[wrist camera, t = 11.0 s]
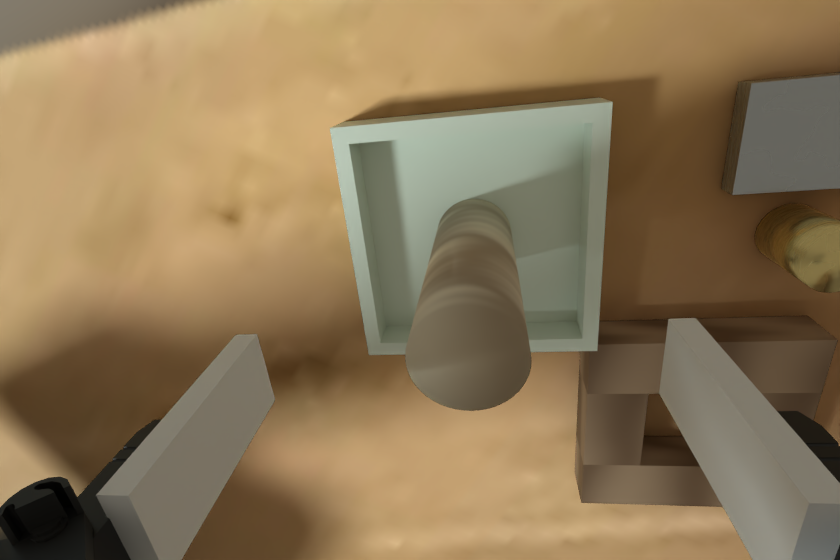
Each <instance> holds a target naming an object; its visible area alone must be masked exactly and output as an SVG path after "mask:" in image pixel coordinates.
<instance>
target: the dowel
mask: <svg viewBox="0 0 840 560" xmlns="http://www.w3.org/2000/svg"><path fill="white" fill-rule="evenodd" d="M405 362H406V366H407V370H408V373H409V375H410V377H411V379H412V381H413V382H414V384H415V385H416V386H417V387H418V389H419V390H420V391H421V392H422V393H424V394H425V395H426V396H427V397H429V398H430V399H432V400H433V401H435V402H437V403H439V404H441V405H444V406H446V407H449V408H453V409H458V410H468V411H474V410H483V409H488V408H492V407H495V406H497V405H500V404H502V403H504V402H506V401H508V400H509V399H510V398H512V397H513V396H514V395H515V394H516V393H517V392H519V390H520V389H521V388H522V387H523V385H524V384H525V382H526V380H527V378H528V376H529V373H530V369H531V351H530V344H529V338H528V332H527V326H526V320H525V313H524V307H523V301H522V295H521V289H520V282H519V276H518V270H517V264H516V257H515V251H514V245H513V239H512V233H511V227H510V223H509V221H508V218H507V217H506V215H505V214H504V212H503V211H502V210H501V209H500V208H499V207H497V206H496V205H495V204H493V203H491V202H488V201H486V200H482V199H467V200H463V201H460V202H458V203H456V204H454V205H453V206H451V207H450V208H449V209H448V210H447V211H446V212H445V213H444V215H443V216H442V218H441V220H440V222H439V225H438V229H437V233H436V237H435V240H434V244H433V248H432V252H431V255H430V259H429V263H428V267H427V270H426V274H425V278H424V282H423V285H422V289H421V293H420V297H419V300H418V304H417V308H416V312H415V315H414V319H413V323H412V327H411V330H410V334H409V338H408V342H407V346H406V351H405Z"/></svg>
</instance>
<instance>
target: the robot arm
mask: <svg viewBox="0 0 840 560" xmlns="http://www.w3.org/2000/svg"><path fill="white" fill-rule="evenodd" d="M659 394H660V396H661V398H662V400H663V401H664V403H665V405H666V407H667V408H668V410H669V412H670V414H671V415H672V417H673V419H674V421H675V423H676V424H677V426H678V428H679V430H680V431H681V433H682V435H683V437H684V439H685V440H686V442H687V444H688V446H689V447H690V449H691V451H692V453H693V455H694V456H695V458H696V460H697V462H698V463H699V465H700V467H701V469H702V471H703V472H704V474H705V476H706V478H707V479H708V481H709V483H710V485H711V487H712V488H713V490H714V492H715V494H716V495H717V497H718V499H719V501H720V503H721V504H722V506H723V508H724V510H725V511H726V513H727V515H728V517H729V518H730V520H731V522H732V524H733V526H734V527H735V529H736V531H737V533H738V534H739V536H740V538H741V540H742V542H743V543H744V545H745V547H746V549H747V550H748V552H749V554H750V556H751V558H752V559H753V560H840V446H838V442H837V441H836V440H835V439H834V438H833V437H832V436H831V435H830V434H829V433H828V432H827V431H826V430H825V429H824V428H823V427H822V426H821V425H820V424H818V423H816V422H815V421H813V420H812V419H810V418H808V417H807V416H805V415H804V414H802V413H800V412H799V411H776V410H775V408H774V407H773V406H772V405H771V404H770V403H769V402H768V400H767V399H766V398H765V397H764V396H763V395H762V393H761V392H760V391H759V390H758V389H757V388H756V387H755V385H754V384H753V383H752V382H751V381H750V380H749V379H748V377H747V376H746V375H745V374H744V373H743V372H742V371H741V369H740V368H739V367H738V366H737V365H736V364H735V363H734V361H733V360H732V359H731V358H730V357H729V356H728V355H727V353H726V352H725V351H724V350H723V349H722V348H721V347H720V345H719V344H718V343H717V342H716V341H715V340H714V338H713V337H712V336H711V335H710V334H709V333H708V332H707V330H706V329H705V328H704V327H703V326H702V325H701V324H700V322H699V321H698V320H697V319H696V318H679V319H668V326H667V334H666V342H665V350H664V358H663V366H662V374H661V382H660V389H659ZM274 401H275V397H274V394H273V390H272V387H271V383H270V379H269V376H268V372H267V368H266V365H265V361H264V357H263V354H262V350H261V347H260V343H259V339H258V336H257V334H243V335H235V336H234V337H233V339H232V340H231V341H230V342H229V343H228V344H227V345H226V347H225V348H224V349H223V350H222V351H221V352H220V353H219V355H218V356H217V357H216V358H215V359H214V360H213V361H212V363H211V364H210V365H209V366H208V367H207V368H206V369H205V371H204V372H203V373H202V374H201V375H200V376H199V378H198V379H197V380H196V381H195V382H194V383H193V384H192V386H191V387H190V388H189V389H188V390H187V391H186V392H185V394H184V395H183V396H182V397H181V398H180V399H179V400H178V402H177V403H176V404H175V405H174V406H173V407H172V409H171V410H170V411H169V412H168V413H167V414H166V415H165V417H164V418H163V419H162V420H154V421H152V422H151V423H149V424H148V425H147V426H145V427H144V428H142V429H141V430H139V431H138V432H137V433H136V434H135V435H134V436H133V437H132V438H131V439H130V440H129V441H128V442H127V444H126V445H125V446H124V448H123V450H120V451H119V452H118V453H117V455H116V456H115V457H114V458H113V461H112V462H109V463H108V464H107V466H106V467H105V468H104V469H103V470H102V471H101V472H100V473H99V474H98V475H97V477H96V478H95V479H94V480H93V481H92V482H91V483H90V484H89V485H88V486H87V488H86V489H85V490H84V491H83V492H82V493H81V494H80V495H79V496H78V497H77V496H76V495H75V493H74V491H73V489H72V487H71V485H70V483H69V482H68V480H67V479H65V478H62V477H53V478H47V479H44V480H41V481H38V482H35V483H33V484H31V485H29V486H27V487H25V488H23V489H21V490H20V491H19V492H17V493H16V494H14V495H13V496H12V497H10V498H9V499H8V500H7V501H6V502H5V503H4V504H3V505H2V506H1V507H0V560H182V558H183V556H184V555H185V553H186V551H187V549H188V548H189V546H190V544H191V543H192V541H193V539H194V538H195V536H196V534H197V532H198V531H199V529H200V527H201V526H202V524H203V522H204V520H205V519H206V517H207V515H208V514H209V512H210V510H211V509H212V507H213V505H214V503H215V502H216V500H217V498H218V497H219V495H220V493H221V491H222V490H223V488H224V486H225V485H226V483H227V481H228V480H229V478H230V476H231V474H232V473H233V471H234V469H235V468H236V466H237V464H238V462H239V461H240V459H241V457H242V456H243V454H244V452H245V451H246V449H247V447H248V445H249V444H250V442H251V440H252V439H253V437H254V435H255V434H256V432H257V430H258V428H259V427H260V425H261V423H262V422H263V420H264V418H265V416H266V415H267V413H268V411H269V410H270V408H271V406H272V405H273V403H274Z"/></svg>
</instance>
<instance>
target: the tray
mask: <svg viewBox="0 0 840 560" xmlns="http://www.w3.org/2000/svg"><path fill="white" fill-rule="evenodd" d="M612 106H613V102H612V101H609V100H606V99H603V98H600V97H599V98H588V99H578V100H567V101H557V102H546V103H536V104H525V105H515V106H504V107H493V108H483V109H472V110H462V111H451V112H441V113H430V114H420V115H409V116H399V117H388V118H378V119H367V120H356V121H346V122H342V123H340V124H338V125H336V126H333V127H331V128H330V132H331V138H332V144H333V150H334V155H335V161H336V167H337V173H338V179H339V184H340V190H341V196H342V202H343V208H344V213H345V219H346V225H347V231H348V237H349V243H350V248H351V254H352V260H353V266H354V272H355V277H356V283H357V289H358V295H359V301H360V306H361V312H362V318H363V324H364V330H365V335H366V341H367V347H368V353H369V355H401V354H405V351H406V346H407V342H408V338H409V334H410V330H411V327H412V323H413V319H414V315H415V312H416V308H417V304H418V300H419V297H420V293H421V289H422V285H423V282H424V278H425V274H426V270H427V267H428V263H429V259H430V255H431V252H432V248H433V244H434V240H435V237H436V233H437V229H438V225H439V222H440V220H441V218H442V216H443V215H444V213H445V212H446V211H447V210H448V209H449V208H450V207H451V206H453V205H454V204H456V203H458V202H460V201H463V200H467V199H482V200H486V201H488V202H491V203H493V204H495V205H496V206H497V207H499V208H500V209H501V210H502V211H503V212H504V214H505V215H506V217H507V218H508V221H509V223H510V227H511V233H512V239H513V245H514V251H515V257H516V264H517V270H518V276H519V282H520V289H521V295H522V301H523V307H524V313H525V320H526V326H527V332H528V338H529V344H530V351H531V352H568V351H597V347H598V331H599V315H600V299H601V283H602V267H603V251H604V235H605V218H606V202H607V186H608V170H609V154H610V138H611V122H612Z"/></svg>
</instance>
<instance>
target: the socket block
mask: <svg viewBox="0 0 840 560" xmlns="http://www.w3.org/2000/svg"><path fill="white" fill-rule="evenodd" d="M697 320H698V321H699V322H700V324H701V325H702V326H703V327H704V328H705V329H706V330H707V332H708V333H709V334H710V335H711V336H712V337H713V338H714V340H715V341H716V342H717V343H718V344H719V345H720V347H721V348H722V349H723V350H724V351H725V352H726V353H727V355H728V356H729V357H730V358H731V359H732V360H733V361H734V363H735V364H736V365H737V366H738V367H739V368H740V369H741V371H742V372H743V373H744V374H745V375H746V376H747V377H748V379H749V380H750V381H751V382H752V383H753V384H754V385H755V387H756V388H757V389H758V390H759V391H760V392H761V393H762V395H763V396H764V397H765V398H766V399H767V400H768V402H769V403H770V404H771V405H772V406H773V407H774V408H775V410H776V411H799V412H800V413H802V414H804V415H805V416H807V417H808V418H810V419H812V420H814V417H815V413H816V410H817V407H818V403H819V400H820V397H821V394H822V390H823V387H824V384H825V380H826V377H827V374H828V371H829V367H830V364H831V361H832V357H833V354H834V351H835V348H836V344H837V341H838V340H837V339H836V338H835V337H834V336H832V335H831V334H830V333H829V332H827V331H826V330H825V329H824V328H822V327H821V326H820V325H819V324H817V323H816V322H815V321H814V320H812V319H811V318H810V317H808V316H778V317H741V318H704V319H697ZM667 326H668V319H667V320H630V321H599V331H598V347H597V351H580V365H579V388H578V410H577V433H576V455H575V476H576V480H577V485H578V490H579V494H580V499H581V503H606V504H642V505H677V506H713V507H723V506H722V504H721V503H720V501H719V499H718V497H717V495H716V494H715V492H714V490H713V488H712V487H711V485H710V483H709V481H708V479H707V478H706V476H705V474H704V472H703V471H702V469H701V467H700V465H699V463H698V462H697V460H696V458H695V456H694V455H693V453H692V451H691V449H690V447H689V446H688V444H687V442H686V440H685V439H684V437H681V436H644V428H645V420H646V411H647V403H648V395H649V394H659V389H660V382H661V374H662V366H663V358H664V350H665V342H666V334H667Z"/></svg>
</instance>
